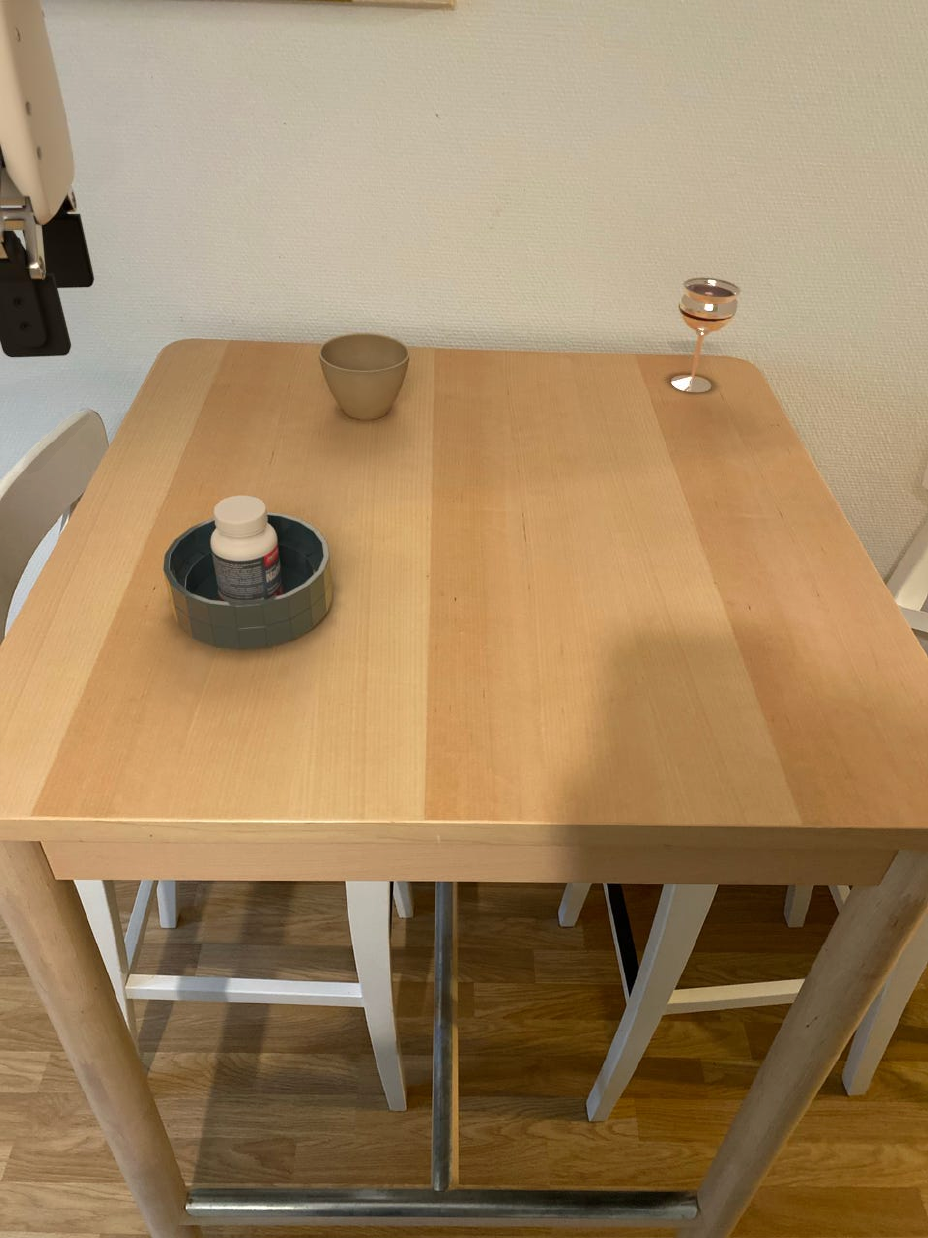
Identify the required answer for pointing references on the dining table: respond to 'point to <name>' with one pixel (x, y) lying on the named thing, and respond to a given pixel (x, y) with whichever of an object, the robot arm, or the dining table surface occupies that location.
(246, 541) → the pill bottle
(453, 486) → the dining table surface
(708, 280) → the wineglass
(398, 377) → the flower pot
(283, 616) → the bowl
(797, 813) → the dining table surface
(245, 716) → the dining table surface
